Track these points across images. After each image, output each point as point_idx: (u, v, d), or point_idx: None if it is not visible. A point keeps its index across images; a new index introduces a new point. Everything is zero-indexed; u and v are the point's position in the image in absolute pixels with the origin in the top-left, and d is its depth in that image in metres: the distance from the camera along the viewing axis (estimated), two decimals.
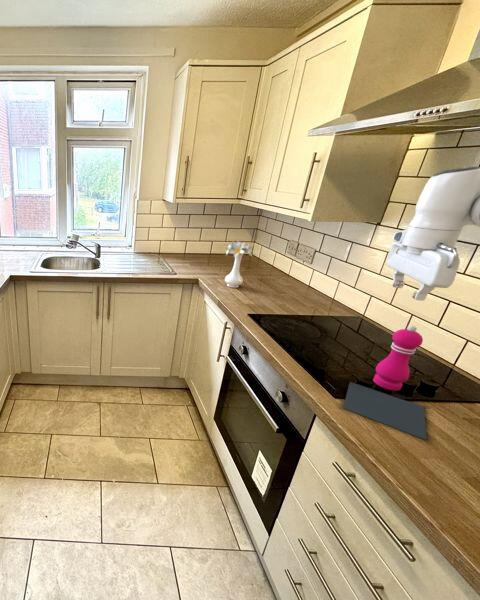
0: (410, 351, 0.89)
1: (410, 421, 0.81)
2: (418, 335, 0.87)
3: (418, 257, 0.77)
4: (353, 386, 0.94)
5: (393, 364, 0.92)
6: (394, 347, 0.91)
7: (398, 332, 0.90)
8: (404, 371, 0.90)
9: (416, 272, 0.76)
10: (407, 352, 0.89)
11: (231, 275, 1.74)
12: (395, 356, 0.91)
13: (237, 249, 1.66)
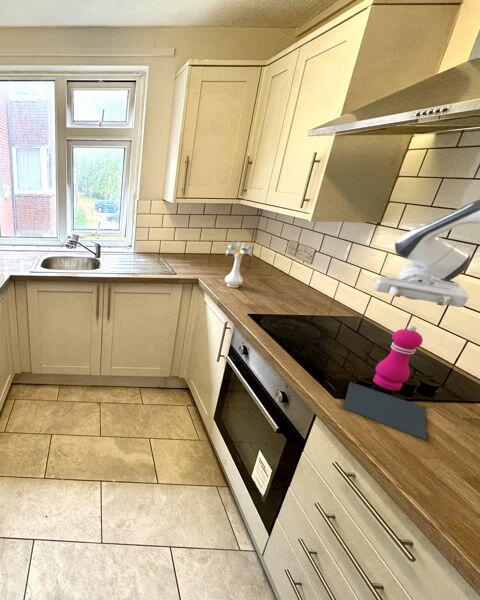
0: (410, 351, 0.89)
1: (410, 421, 0.81)
2: (418, 335, 0.87)
3: None
4: (353, 386, 0.94)
5: (393, 364, 0.92)
6: (394, 347, 0.91)
7: (398, 332, 0.90)
8: (404, 371, 0.90)
9: None
10: (407, 352, 0.89)
11: (231, 275, 1.74)
12: (395, 356, 0.91)
13: (237, 249, 1.66)
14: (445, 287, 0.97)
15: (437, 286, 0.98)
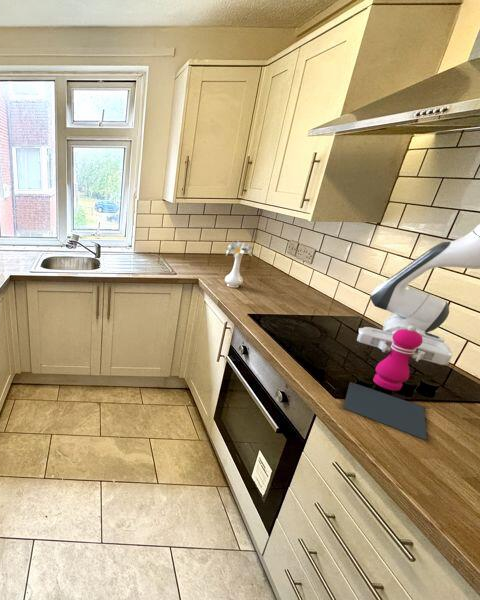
0: (410, 351, 0.89)
1: (410, 421, 0.81)
2: (418, 335, 0.87)
3: None
4: (353, 386, 0.94)
5: (393, 364, 0.92)
6: (394, 347, 0.91)
7: (398, 332, 0.90)
8: (404, 371, 0.90)
9: None
10: (407, 352, 0.89)
11: (231, 275, 1.74)
12: (395, 356, 0.91)
13: (237, 249, 1.66)
14: (429, 342, 0.94)
15: None
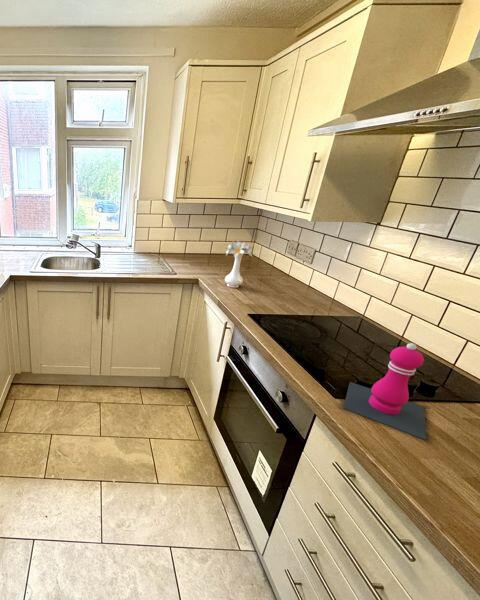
0: (409, 372, 0.79)
1: (410, 421, 0.81)
2: (418, 354, 0.78)
3: None
4: (353, 386, 0.94)
5: (391, 386, 0.82)
6: (392, 367, 0.82)
7: (396, 350, 0.81)
8: (403, 394, 0.81)
9: None
10: (406, 373, 0.79)
11: (231, 275, 1.74)
12: (393, 376, 0.82)
13: (237, 249, 1.66)
14: None
15: None
